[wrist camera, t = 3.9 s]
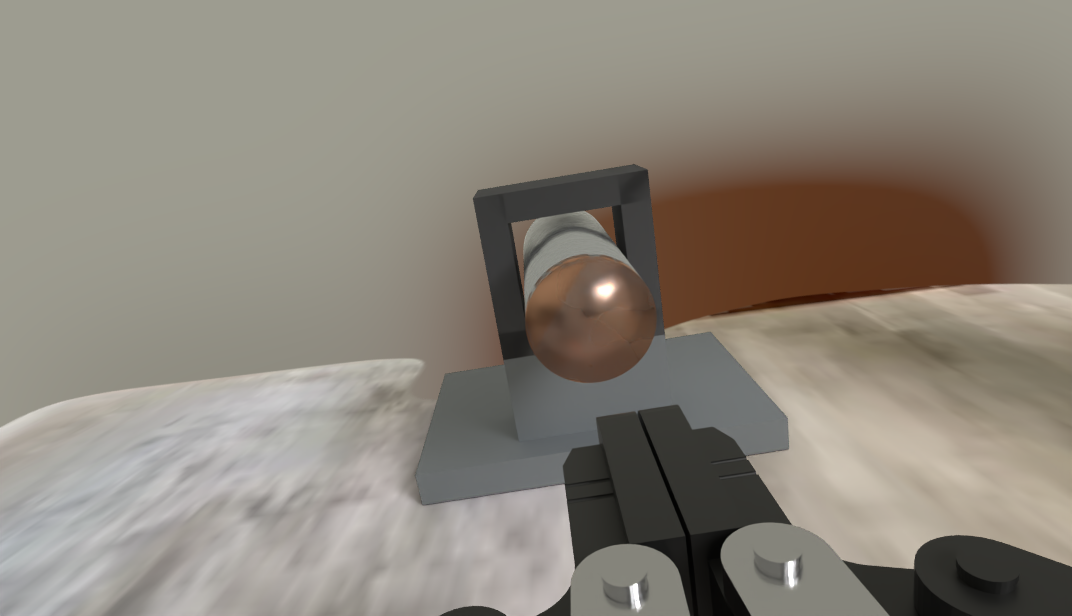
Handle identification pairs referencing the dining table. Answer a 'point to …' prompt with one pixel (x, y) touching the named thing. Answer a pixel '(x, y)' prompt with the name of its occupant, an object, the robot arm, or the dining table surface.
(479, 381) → the base plate
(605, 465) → the robot arm
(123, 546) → the dining table surface
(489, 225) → the rubber collar
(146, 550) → the dining table surface
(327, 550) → the dining table surface
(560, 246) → the steel peg
